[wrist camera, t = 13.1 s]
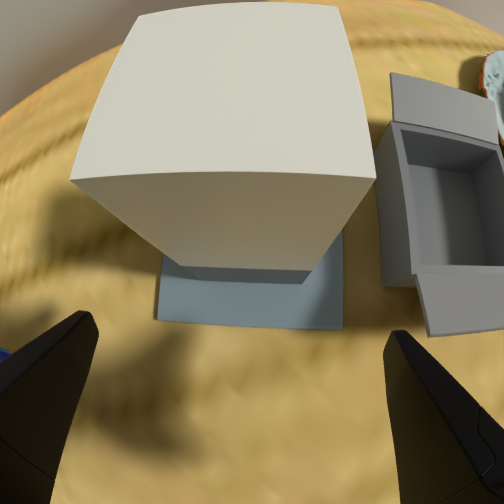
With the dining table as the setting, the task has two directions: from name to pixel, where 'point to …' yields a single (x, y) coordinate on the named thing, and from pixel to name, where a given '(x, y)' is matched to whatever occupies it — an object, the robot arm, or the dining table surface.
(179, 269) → the rubber mat
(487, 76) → the food on plate
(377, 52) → the dining table surface
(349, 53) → the box
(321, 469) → the dining table surface
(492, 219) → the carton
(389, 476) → the dining table surface
